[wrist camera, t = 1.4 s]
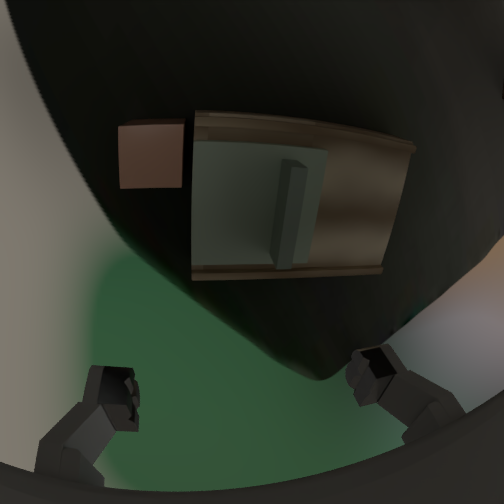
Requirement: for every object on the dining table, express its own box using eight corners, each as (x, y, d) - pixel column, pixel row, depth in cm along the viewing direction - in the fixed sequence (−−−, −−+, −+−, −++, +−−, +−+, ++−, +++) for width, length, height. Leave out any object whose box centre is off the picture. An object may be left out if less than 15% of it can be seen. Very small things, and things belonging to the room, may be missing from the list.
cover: (193, 139, 20) (193, 147, 18) (324, 148, 22) (342, 157, 20) (191, 259, 25) (192, 282, 22) (304, 258, 27) (316, 278, 24)
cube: (132, 119, 22) (118, 126, 17) (185, 118, 23) (183, 124, 18) (132, 170, 24) (120, 188, 20) (183, 169, 25) (181, 187, 21)
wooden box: (195, 110, 22) (195, 113, 19) (392, 134, 26) (417, 143, 23) (191, 258, 29) (192, 282, 26) (363, 255, 33) (380, 275, 30)
